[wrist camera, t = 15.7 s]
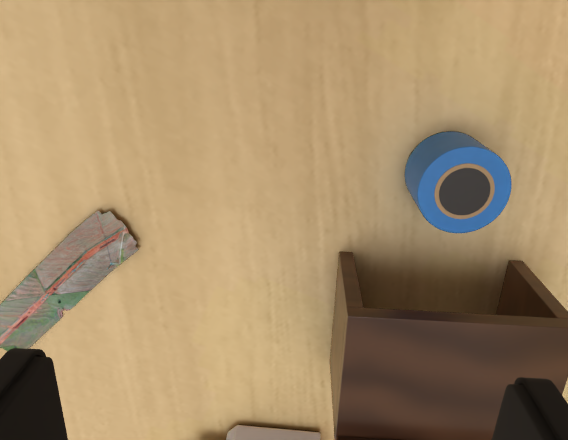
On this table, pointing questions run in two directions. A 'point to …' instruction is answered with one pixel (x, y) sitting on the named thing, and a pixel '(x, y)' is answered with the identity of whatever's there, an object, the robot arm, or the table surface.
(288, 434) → the charger
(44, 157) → the table surface
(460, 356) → the desk shelf
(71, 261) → the map
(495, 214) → the tape roll
